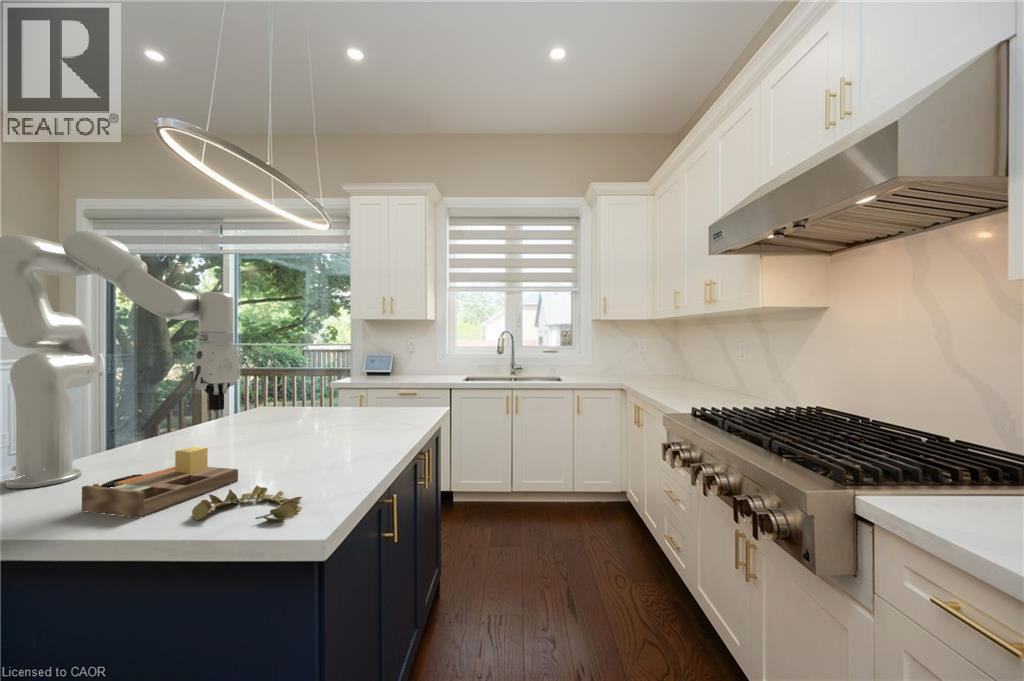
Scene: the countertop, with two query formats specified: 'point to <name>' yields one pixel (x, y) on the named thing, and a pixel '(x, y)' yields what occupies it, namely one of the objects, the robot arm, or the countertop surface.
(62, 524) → the countertop surface
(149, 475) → the toy gun
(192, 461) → the block
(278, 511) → the headpiece
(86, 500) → the wooden tray
